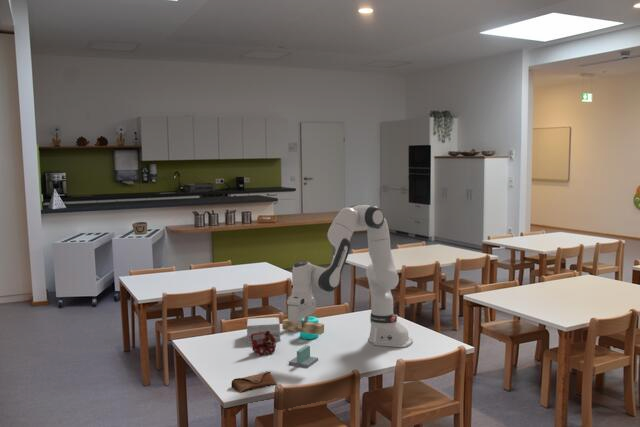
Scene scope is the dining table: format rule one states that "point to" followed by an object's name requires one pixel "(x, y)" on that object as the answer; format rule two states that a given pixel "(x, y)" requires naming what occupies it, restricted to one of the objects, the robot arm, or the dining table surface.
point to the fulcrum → (303, 358)
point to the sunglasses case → (253, 382)
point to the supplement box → (263, 327)
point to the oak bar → (307, 327)
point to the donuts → (309, 335)
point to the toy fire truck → (263, 343)
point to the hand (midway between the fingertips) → (302, 326)
